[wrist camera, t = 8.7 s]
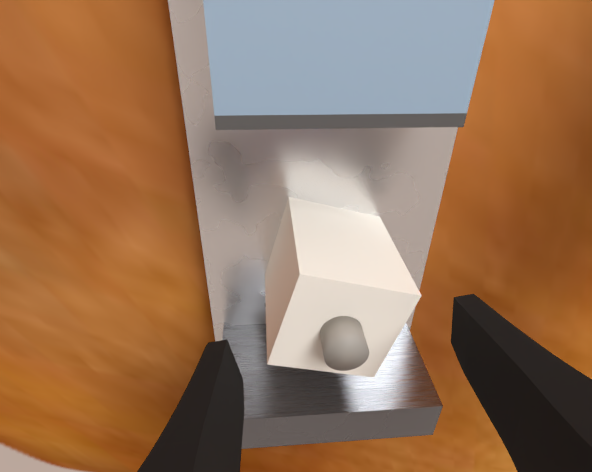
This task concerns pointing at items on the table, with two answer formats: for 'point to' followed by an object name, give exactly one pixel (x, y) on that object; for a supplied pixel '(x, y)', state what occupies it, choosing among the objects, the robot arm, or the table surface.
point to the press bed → (261, 237)
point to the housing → (334, 291)
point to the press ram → (343, 62)
